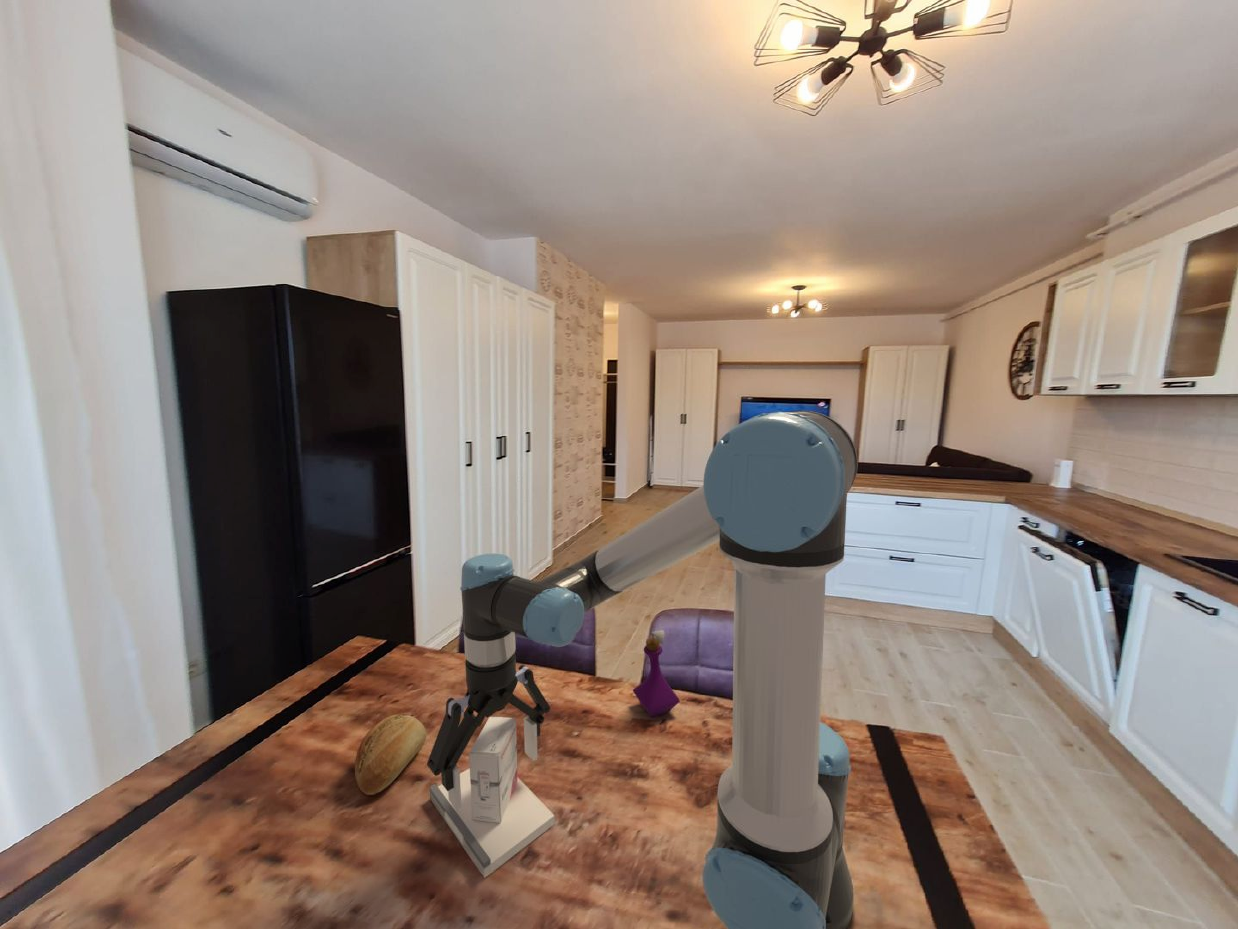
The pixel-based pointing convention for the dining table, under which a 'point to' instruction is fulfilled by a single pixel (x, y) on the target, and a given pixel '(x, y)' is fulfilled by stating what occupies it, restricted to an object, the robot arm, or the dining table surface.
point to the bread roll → (387, 751)
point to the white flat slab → (493, 824)
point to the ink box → (493, 769)
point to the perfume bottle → (655, 681)
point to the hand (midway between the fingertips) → (495, 778)
